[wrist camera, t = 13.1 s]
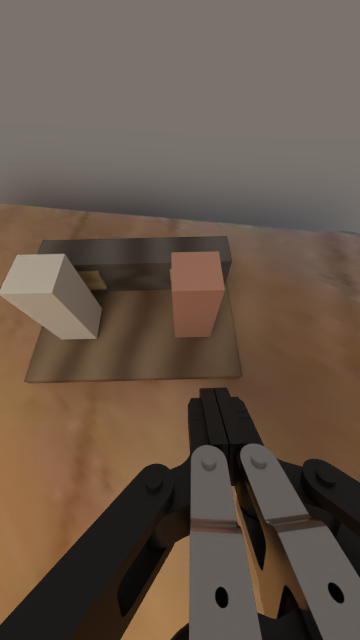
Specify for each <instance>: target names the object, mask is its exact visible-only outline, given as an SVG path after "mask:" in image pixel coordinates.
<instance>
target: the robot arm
mask: <svg viewBox="0 0 360 640" xmlns="http://www.w3.org/2000/svg"><path fill="white" fill-rule="evenodd" d="M188 429H189V443H190V456H189V457H188V459H187V460H186V461H185V462H184V463H183V464H182V465H180V466H178V467H175V468H173V469H169V468H167V467H166V466H165V465H162V464H152V465H149V466H147V467H145V468H144V469H143V470H142V471H141V472H140V473H139V474H138V475H137V476H136V477H135V478H134V479H133V480H132V482H131V483H130V484H129V485H128V486H127V487H126V488H125V489H124V490H123V491H122V492H121V494H120V495H119V496H118V497H117V498H116V499H115V500H114V501H113V502H112V503H111V504H110V506H109V507H108V508H107V509H106V510H105V511H104V512H103V513H102V514H101V515H100V517H99V518H98V519H97V520H96V521H95V522H94V523H93V524H92V525H91V526H90V527H89V529H88V530H87V531H86V532H85V533H84V534H83V535H82V536H81V537H80V538H79V539H78V541H77V542H76V543H75V544H74V545H73V546H72V547H71V548H70V549H69V550H68V552H67V553H66V554H65V555H64V556H63V557H62V558H61V559H60V560H59V561H58V562H57V564H56V565H55V566H54V567H53V568H52V569H51V570H50V571H49V572H48V573H47V575H46V576H45V577H44V578H43V579H42V580H41V581H40V582H39V583H38V584H37V585H36V587H35V588H34V589H33V590H32V591H31V592H30V593H29V594H28V595H27V596H26V597H25V599H24V600H23V601H22V602H21V603H20V604H19V605H18V606H17V607H16V608H15V610H14V611H13V612H12V613H11V614H10V615H9V616H8V617H7V618H6V619H5V620H4V622H3V623H2V624H1V625H0V640H120V639H121V638H122V636H123V634H124V632H125V631H126V629H127V627H128V625H129V623H130V622H131V620H132V618H133V616H134V615H135V613H136V611H137V609H138V608H139V606H140V604H141V602H142V601H143V599H144V597H145V595H146V594H147V592H148V590H149V588H150V587H151V585H152V583H153V581H154V580H155V578H156V576H157V574H158V572H159V571H160V569H161V567H162V565H163V564H164V562H165V560H166V558H167V557H168V555H169V553H170V551H171V550H172V548H173V546H174V544H175V542H177V541H179V540H180V539H182V538H184V537H186V536H188V535H190V595H189V623H188V624H186V625H185V626H184V627H183V628H181V629H180V630H179V631H178V632H177V633H176V634H175V635H174V636H173V637H172V639H171V640H360V483H359V482H358V481H356V480H355V479H353V478H351V477H350V476H348V475H347V474H345V473H344V472H342V471H340V470H339V469H337V468H336V467H334V466H332V465H331V464H329V463H327V462H325V461H322V460H319V459H309V460H307V461H305V462H304V464H303V467H301V466H298V465H294V464H290V463H287V462H284V461H281V460H279V459H277V458H276V457H275V455H274V454H273V453H272V452H271V451H270V450H269V449H268V448H266V447H264V445H263V443H262V441H261V438H260V436H259V434H258V432H257V430H256V428H255V426H254V423H253V421H252V419H251V417H250V415H249V413H248V411H247V408H246V406H245V404H244V403H243V402H242V401H241V400H240V399H239V398H238V397H230V394H229V392H228V389H227V388H201V389H200V398H191V400H190V402H189V404H188ZM231 486H235V490H236V494H237V503H236V504H237V510H238V513H239V516H240V520H241V523H242V526H243V529H244V533H245V536H246V539H247V543H248V546H249V549H250V552H251V556H252V559H253V562H254V566H255V569H256V572H257V576H258V581H259V588H260V595H261V601H262V605H263V610H264V614H265V615H262V614H259V613H257V609H256V604H255V598H254V593H253V587H252V582H251V576H250V571H249V565H248V560H247V554H246V549H245V543H244V538H243V534H242V530H241V527H240V526H239V525H238V523H237V518H236V512H235V506H234V500H233V494H232V489H231Z"/></svg>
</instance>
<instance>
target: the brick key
mask: <svg viewBox="0 0 360 640" xmlns="http://www.w3.org/2000/svg"><path fill="white" fill-rule="evenodd" d="M171 261H172V302H173V316H174V329H175V338H184V337H210V335H211V332H212V329H213V326H214V323H215V319H216V316H217V313H218V310H219V307H220V304H221V301H222V298H223V295H224V291H225V287H224V281H223V275H222V268H221V262H220V256H219V251H214V252H171Z"/></svg>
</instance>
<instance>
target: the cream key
mask: <svg viewBox="0 0 360 640" xmlns="http://www.w3.org/2000/svg"><path fill="white" fill-rule="evenodd" d="M0 296H2V297H3V298H4V299H6V300H7V301H9V302H10V303H11V304H13V305H14V306H16V307H17V308H18V309H20V310H21V311H23V312H24V313H25V314H27V315H28V316H30V317H31V318H32V319H34V320H35V321H37V322H38V323H39V324H41V325H42V326H44V327H45V328H46V329H48V330H49V331H51V332H52V333H53V334H55V335H56V336H58V337H59V338H60V339H62V340H65V339H97V335H98V329H99V324H100V318H101V313H102V308H101V306H100V305H99V303H98V302H97V300H96V299H95V298H94V296H93V295H92V293H91V292H90V290H89V289H88V287H87V286H86V284H85V283H84V281H83V280H82V278H81V277H80V276H79V274H78V273H77V271H76V270H75V268H74V267H73V265H72V264H71V262H70V261H69V259H68V258H67V256H66V255H65V254H38V255H17V256H16V258H15V260H14V262H13V265H12V267H11V269H10V271H9V273H8V275H7V277H6V279H5V281H4V283H3V285H2V287H1V289H0Z"/></svg>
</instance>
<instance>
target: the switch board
mask: <svg viewBox="0 0 360 640" xmlns="http://www.w3.org/2000/svg"><path fill="white" fill-rule="evenodd" d="M214 251H219V256H220V262H221V268H222V275H223V281H224V287H225V291H224V295H223V298H222V301H221V304H220V307H219V310H218V313H217V316H216V319H215V323H214V326H213V329H212V332H211V335H210V337H184V338H175V329H174V316H173V302H172V261H171V252H214ZM38 254H65V255H66V256H67V258H68V259H69V261H70V262H71V264H72V265H73V267H74V268H75V270H76V271H77V273H78V274H79V276H80V277H81V278H82V280H83V281H84V283H85V284H86V286H87V287H88V289H89V290H90V292H91V293H92V295H93V296H94V298H95V299H96V300H97V302H98V303H99V305H100V306H101V308H102V313H101V318H100V324H99V329H98V335H97V339H65V340H62V339H60V338H59V337H58V336H56V335H55V334H53V333H52V332H51V331H49V330H48V329H46V328H45V327H44V326H42V328H41V331H40V334H39V338H38V341H37V344H36V347H35V350H34V353H33V356H32V359H31V362H30V365H29V368H28V371H27V374H26V377H25V380H24V382H28V383H59V382H97V381H135V380H173V379H211V378H240V377H241V376H242V374H241V368H240V362H239V356H238V350H237V344H236V338H235V332H234V326H233V320H232V314H231V308H230V302H229V296H228V290H227V284H226V279H227V276H228V272H229V269H230V266H231V263H232V259H231V254H230V249H229V244H228V238H227V236H216V237H172V238H128V239H84V240H43V241H42V243H41V246H40V248H39V250H38V253H37V255H38Z"/></svg>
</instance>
